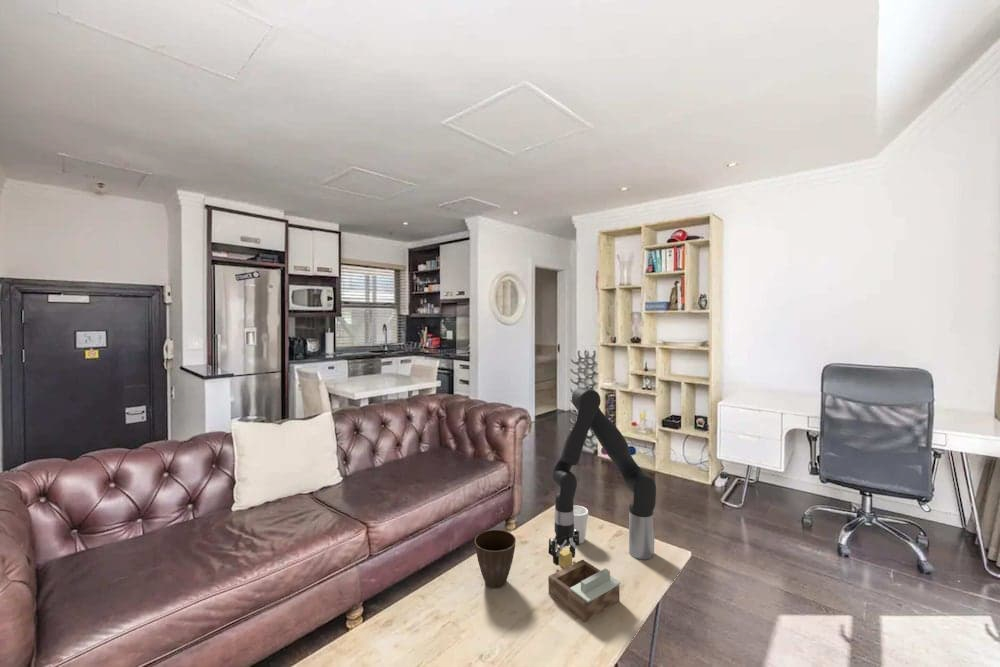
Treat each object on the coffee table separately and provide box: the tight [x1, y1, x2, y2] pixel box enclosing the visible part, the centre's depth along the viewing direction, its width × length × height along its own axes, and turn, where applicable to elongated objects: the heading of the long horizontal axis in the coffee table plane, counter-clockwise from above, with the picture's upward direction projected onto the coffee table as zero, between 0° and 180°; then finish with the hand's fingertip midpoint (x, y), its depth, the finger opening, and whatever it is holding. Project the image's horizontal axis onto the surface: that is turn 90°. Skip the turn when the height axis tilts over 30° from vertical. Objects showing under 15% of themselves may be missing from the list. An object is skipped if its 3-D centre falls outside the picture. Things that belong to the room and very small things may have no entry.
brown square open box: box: [548, 559, 620, 623], centre depth 149 cm, size 17×17×6 cm
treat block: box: [558, 547, 573, 569], centre depth 169 cm, size 4×4×5 cm
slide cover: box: [570, 568, 622, 602], centre depth 144 cm, size 16×8×4 cm, turn 125°
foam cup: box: [572, 504, 589, 545], centre depth 186 cm, size 10×9×13 cm
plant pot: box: [474, 529, 517, 589], centre depth 158 cm, size 15×15×16 cm
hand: (564, 560), depth 169 cm, fingers open, 8 cm apart
